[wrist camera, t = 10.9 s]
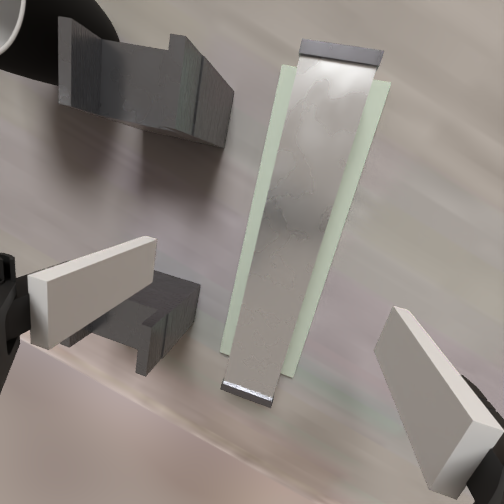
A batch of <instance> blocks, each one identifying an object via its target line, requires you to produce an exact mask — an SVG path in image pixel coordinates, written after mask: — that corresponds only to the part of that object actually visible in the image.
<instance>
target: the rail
mask: <svg viewBox="0 0 504 504" xmlns="http://www.w3.org/2000/svg"><path fill="white" fill-rule="evenodd" d="M383 53H384V51H382V50H375V49H369V48H362V47H355V46H349V45H342V44H335V43H329V42H322V41H315V40H309V39H302V41H301V46H300V50H299V63H298V67H297V71H296V75H295V80H294V84H293V88H292V92H291V97H290V101H289V105H288V109H287V114H286V118H285V122H284V126H283V131H282V135H281V139H280V143H279V148H278V152H277V156H276V160H275V165H274V169H273V173H272V177H271V182H270V186H269V190H268V194H267V199H266V203H265V207H264V211H263V216H262V220H261V224H260V228H259V233H258V237H257V241H256V245H255V250H254V254H253V258H252V262H251V267H250V271H249V275H248V279H247V284H246V288H245V292H244V296H243V301H242V305H241V309H240V313H239V318H238V322H237V326H236V330H235V335H234V339H233V343H232V347H231V352H230V356H229V360H228V364H227V369H226V373H225V377H224V379H223V381H222V384H221V388H220V389H221V390H224V391H226V392H229V393H232V394H234V395H237V396H240V397H242V398H245V399H248V400H250V401H253V402H256V403H258V404H261V405H264V406H266V407H269V408H271V406H272V403H273V398H274V392H275V389H276V386H277V382H278V379H279V376H280V373H281V370H282V367H283V363H284V360H285V357H286V354H287V351H288V348H289V344H290V341H291V338H292V335H293V332H294V329H295V325H296V322H297V319H298V316H299V313H300V310H301V306H302V303H303V300H304V297H305V294H306V291H307V287H308V284H309V281H310V278H311V275H312V271H313V268H314V265H315V262H316V259H317V256H318V252H319V249H320V246H321V243H322V240H323V237H324V233H325V230H326V227H327V224H328V221H329V218H330V214H331V211H332V208H333V205H334V202H335V199H336V195H337V192H338V189H339V186H340V183H341V180H342V176H343V173H344V170H345V167H346V164H347V161H348V157H349V154H350V151H351V148H352V145H353V141H354V138H355V135H356V132H357V129H358V126H359V122H360V119H361V116H362V113H363V110H364V107H365V103H366V100H367V97H368V94H369V91H370V88H371V84H372V81H373V78H374V75H375V72H376V71H377V69H378V67H379V66H380V62H381V59H382V56H383Z"/></svg>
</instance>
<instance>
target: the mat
mask: <svg viewBox="0 0 504 504" xmlns="http://www.w3.org/2000/svg"><path fill="white" fill-rule="evenodd" d="M296 71H297V67H294V66H288V65H282V68H281V72H280V77H279V82H278V86H277V91H276V95H275V100H274V105H273V109H272V114H271V118H270V123H269V127H268V132H267V137H266V141H265V146H264V150H263V155H262V160H261V164H260V169H259V173H258V178H257V182H256V187H255V192H254V196H253V201H252V205H251V210H250V215H249V219H248V224H247V228H246V233H245V238H244V242H243V247H242V251H241V256H240V260H239V265H238V270H237V274H236V279H235V283H234V288H233V293H232V297H231V302H230V306H229V311H228V315H227V320H226V325H225V329H224V334H223V338H222V343H221V348H220V353H223V354H226V355H229V356H230V352H231V347H232V343H233V339H234V335H235V330H236V326H237V322H238V318H239V313H240V309H241V305H242V301H243V296H244V292H245V288H246V284H247V279H248V275H249V271H250V267H251V262H252V258H253V254H254V250H255V245H256V241H257V237H258V233H259V228H260V224H261V220H262V216H263V211H264V207H265V203H266V199H267V194H268V190H269V186H270V182H271V177H272V173H273V169H274V165H275V160H276V156H277V152H278V148H279V143H280V139H281V135H282V131H283V126H284V122H285V118H286V114H287V109H288V105H289V101H290V97H291V92H292V88H293V84H294V80H295V75H296ZM390 86H391V82H385V81H379V80H373V81H372V84H371V88H370V91H369V94H368V97H367V100H366V103H365V107H364V110H363V113H362V116H361V119H360V122H359V126H358V129H357V132H356V135H355V138H354V141H353V145H352V148H351V151H350V154H349V157H348V161H347V164H346V167H345V170H344V173H343V176H342V180H341V183H340V186H339V189H338V192H337V195H336V199H335V202H334V205H333V208H332V211H331V214H330V218H329V221H328V224H327V227H326V230H325V233H324V237H323V240H322V243H321V246H320V249H319V252H318V256H317V259H316V262H315V265H314V268H313V271H312V275H311V278H310V281H309V284H308V287H307V291H306V294H305V297H304V300H303V303H302V306H301V310H300V313H299V316H298V319H297V322H296V325H295V329H294V332H293V335H292V338H291V341H290V344H289V348H288V351H287V354H286V357H285V360H284V363H283V367H282V370H281V374H283V375H286V376H289V377H292V378H293V376H294V373H295V370H296V367H297V364H298V361H299V358H300V355H301V352H302V349H303V346H304V343H305V340H306V337H307V334H308V331H309V328H310V325H311V322H312V319H313V316H314V313H315V310H316V307H317V304H318V301H319V298H320V295H321V292H322V289H323V286H324V283H325V280H326V277H327V274H328V271H329V268H330V265H331V262H332V259H333V256H334V253H335V250H336V247H337V244H338V241H339V238H340V235H341V232H342V229H343V226H344V223H345V220H346V217H347V214H348V211H349V208H350V205H351V202H352V199H353V196H354V193H355V190H356V187H357V184H358V181H359V178H360V176H361V173H362V170H363V167H364V164H365V161H366V158H367V155H368V152H369V149H370V146H371V143H372V140H373V137H374V134H375V131H376V128H377V125H378V122H379V119H380V116H381V113H382V110H383V107H384V104H385V101H386V98H387V95H388V92H389V89H390Z"/></svg>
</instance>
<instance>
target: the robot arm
mask: <svg viewBox="0 0 504 504" xmlns="http://www.w3.org/2000/svg"><path fill="white" fill-rule="evenodd" d="M156 246H157V239H155V238H151V237H148V236H143V237H140V238H137V239H134V240H131V241H128V242H125V243H122V244H119V245H116V246H113V247H110V248H107V249H104V250H101V251H98V252H95V253H92V254H89V255H86V256H83V257H80V258H77V259H74V260H71V261H66V262H63V263H60V264H57V265H56V266H51V267H48V268H47V269H42V270H39V271H36V272H33V273H30V274H27V275H24V276H21V277H18V278H16V273H15V257H13V256H12V255H9V254H5V253H0V393H1V391H2V388H3V385H4V383H5V380H6V378H7V375H8V373H9V370H10V368H11V365H12V363H13V360H14V358H15V355H16V352H17V350H18V348H19V345H20V335H21V334H23V333H25V332H27V331H28V330H30V337H31V344H34V345H36V346H39V347H42V348H45V349H47V350H50V349H51V348H53V347H54V346H56V345H57V344H59V343H60V342H62V341H63V340H65V339H66V338H68V337H70V336H71V335H73V334H74V333H76V332H77V331H79V330H80V329H82V328H83V327H85V326H86V325H88V324H89V323H91V322H92V321H94V320H96V319H97V318H99V317H100V316H102V315H103V314H105V313H106V312H108V311H109V310H111V309H112V308H114V307H115V306H117V305H119V304H120V303H122V302H123V301H125V300H126V299H128V298H129V297H131V296H132V295H134V294H135V293H137V292H138V291H140V290H141V289H143V288H145V287H146V286H148V285H149V284H151V283H152V282H153V273H154V264H155V255H156ZM374 352H375V354H376V357H377V360H378V362H379V365H380V367H381V370H382V372H383V375H384V377H385V380H386V382H387V385H388V387H389V390H390V392H391V395H392V397H393V400H394V402H395V405H396V407H397V410H398V413H399V415H400V418H401V420H402V423H403V425H404V428H405V430H406V433H407V435H408V438H409V440H410V443H411V445H412V448H413V450H414V453H415V455H416V458H417V460H418V463H419V466H420V468H421V471H422V473H423V476H424V478H425V481H426V483H427V486H428V488H429V490H432V491H434V492H437V493H440V494H443V495H445V496H448V497H451V498H453V499H456V500H457V498H458V497H459V495H460V494H461V493H462V491H463V490H464V488H465V487H466V485H467V487H468V489H469V490H470V492H471V494H472V496H473V498H474V500H475V502H474V503H473V504H504V419H503V418H502V417H501V416H500V414H499V413H498V412H496V411H495V410H496V409H495V408H494V407H493V406H492V405H491V403H490V402H488V401H487V399H486V397H485V396H484V395H483V394H482V393H481V391H480V390H479V389H478V388H477V387H476V386H475V385H474V384H473V383H471V382H470V381H469V380H468V379H467V378H466V377H464V376H463V375H460V374H459V373H458V371H457V370H456V369H455V368H454V366H453V365H452V364H451V363H450V361H449V360H448V359H447V358H446V356H445V355H444V354H443V353H442V351H441V350H440V349H439V347H438V346H437V345H436V344H435V342H434V341H433V340H432V339H431V337H430V336H429V335H428V334H427V332H426V331H425V330H424V329H423V327H422V326H421V325H420V323H419V322H418V321H417V320H416V318H415V317H414V316H413V315H412V313H411V312H410V311H409V310H406V309H403V308H399V307H396V306H393V308H392V310H391V312H390V314H389V317H388V319H387V321H386V324H385V326H384V328H383V331H382V333H381V335H380V337H379V340H378V342H377V344H376V347H375V349H374Z"/></svg>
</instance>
